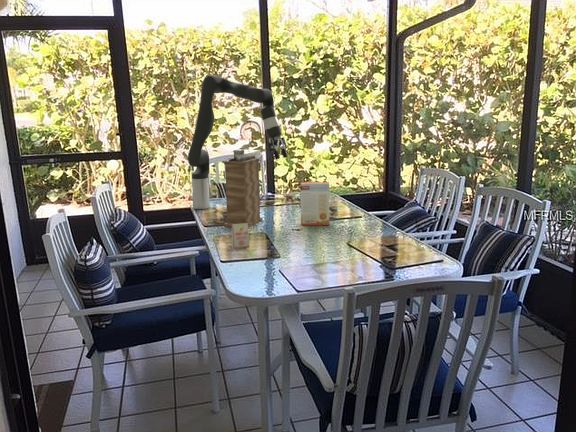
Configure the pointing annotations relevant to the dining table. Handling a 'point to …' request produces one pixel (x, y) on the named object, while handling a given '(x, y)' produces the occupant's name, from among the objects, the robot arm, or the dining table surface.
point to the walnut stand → (242, 191)
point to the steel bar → (245, 154)
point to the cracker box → (314, 203)
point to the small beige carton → (240, 235)
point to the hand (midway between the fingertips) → (281, 158)
